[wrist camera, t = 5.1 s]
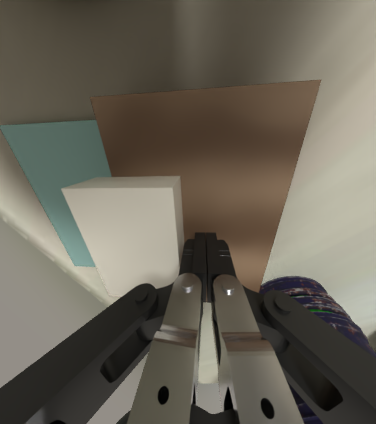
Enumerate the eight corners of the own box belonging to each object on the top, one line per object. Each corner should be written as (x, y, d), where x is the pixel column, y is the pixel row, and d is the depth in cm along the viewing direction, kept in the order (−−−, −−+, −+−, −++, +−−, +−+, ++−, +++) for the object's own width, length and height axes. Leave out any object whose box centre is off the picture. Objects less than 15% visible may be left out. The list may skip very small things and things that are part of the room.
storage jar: (264, 324, 23) (354, 576, 10) (238, 290, 20) (316, 595, 6) (334, 308, 20) (609, 650, 6) (315, 265, 17) (781, 759, 3)
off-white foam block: (96, 177, 10) (61, 188, 7) (180, 175, 9) (172, 187, 7) (125, 268, 14) (109, 296, 11) (185, 271, 13) (182, 300, 11)
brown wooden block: (124, 111, 11) (89, 97, 8) (279, 102, 10) (321, 79, 7) (155, 269, 19) (144, 297, 16) (244, 272, 18) (255, 304, 15)
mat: (5, 126, 13) (-2, 125, 12) (120, 119, 12) (117, 118, 11) (77, 263, 20) (74, 266, 20) (151, 266, 19) (150, 269, 19)
